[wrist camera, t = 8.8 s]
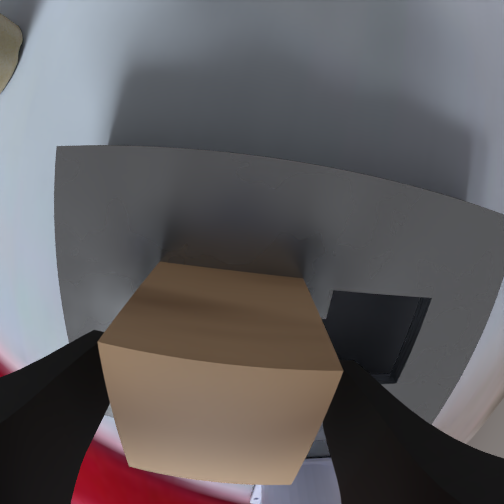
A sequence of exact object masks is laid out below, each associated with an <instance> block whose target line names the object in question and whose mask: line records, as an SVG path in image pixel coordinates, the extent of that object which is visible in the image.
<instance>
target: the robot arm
mask: <svg viewBox="0 0 504 504" xmlns="http://www.w3.org/2000/svg"><path fill="white" fill-rule="evenodd" d="M103 333H104V332H102V331H98V330H93V331H91V332H89V333H87V334H85V335H83V336H81V337H79V338H78V339H76V340H74V341H72V342H71V343H69V344H67V345H65V346H64V347H62V348H60V349H58V350H56V351H55V352H53V353H51V354H49V355H48V356H46V357H44V358H42V359H40V360H38V361H36V362H34V363H32V364H30V365H28V366H26V367H24V368H22V369H20V370H17V371H15V372H13V373H10V374H8V375H5V376H3V377H0V504H71V499H72V495H73V491H74V487H75V483H76V480H77V476H78V473H79V470H80V466H81V463H82V461H83V458H84V456H85V454H86V451H87V449H88V447H89V445H90V443H91V441H92V439H93V437H94V435H95V433H96V431H97V429H98V427H99V425H100V423H101V421H102V419H103V417H104V415H105V413H106V411H107V409H108V407H109V404H110V401H109V397H108V393H107V388H106V384H105V379H104V374H103V369H102V364H101V359H100V354H99V348H98V340H99V339H100V338H101V336H102V335H103ZM339 361H340V364H341V366H342V369H343V373H342V376H341V379H340V381H339V384H338V386H337V389H336V391H335V394H334V396H333V399H332V401H331V403H330V406H329V408H328V411H327V413H326V415H325V417H324V420H323V430H324V434H325V437H326V441H327V445H328V448H329V452H330V456H331V458H315V459H305V460H304V462H303V464H302V466H301V468H300V470H299V471H298V473H297V475H296V477H295V479H294V481H293V483H292V484H291V485H255V487H254V490H253V492H252V495H251V498H250V503H253V504H504V458H501V457H497V456H494V455H491V454H488V453H485V452H483V451H480V450H478V449H475V448H473V447H471V446H469V445H466V444H464V443H462V442H460V441H458V440H456V439H454V438H452V437H451V436H449V435H447V434H445V433H444V432H442V431H440V430H439V429H437V428H436V427H434V426H432V425H431V424H429V423H428V422H426V421H425V420H424V419H422V418H421V417H420V416H418V415H417V414H416V413H414V412H413V411H412V410H410V409H409V408H408V407H407V406H405V405H404V404H403V403H402V402H400V401H399V400H398V399H397V398H396V397H395V396H393V395H392V394H391V393H390V392H389V391H388V390H387V389H386V388H384V387H383V386H382V385H381V384H380V383H379V382H378V381H377V380H376V379H375V378H373V377H372V376H371V375H370V374H369V373H368V372H367V371H366V370H365V369H364V368H362V367H361V366H360V365H359V364H358V363H357V362H355V361H354V360H339Z"/></svg>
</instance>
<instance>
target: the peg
mask: <svg viewBox="0 0 504 504" xmlns="http://www.w3.org/2000/svg"><path fill="white" fill-rule="evenodd" d="M98 348H99V354H100V359H101V364H102V369H103V374H104V379H105V384H106V388H107V393H108V397H109V401H110V405H111V409H112V413H113V416H114V420H115V423H116V427H117V430H118V434H119V437H120V440H121V443H122V447H123V450H124V453H125V456H126V459H127V461H128V464H129V466H130V467H134V468H138V469H142V470H146V471H151V472H155V473H160V474H165V475H171V476H176V477H182V478H188V479H195V480H203V481H211V482H221V483H233V484H251V485H291V484H292V483H293V481H294V479H295V477H296V475H297V473H298V471H299V470H300V468H301V466H302V464H303V462H304V460H305V458H306V456H307V454H308V452H309V450H310V448H311V446H312V444H313V441H314V439H315V437H316V435H317V433H318V431H319V429H320V426H321V424H322V422H323V420H324V417H325V415H326V413H327V411H328V408H329V406H330V403H331V401H332V399H333V396H334V394H335V391H336V389H337V386H338V384H339V381H340V379H341V376H342V373H343V369H342V366H341V364H340V361H339V359H338V357H337V354H336V352H335V350H334V347H333V345H332V342H331V340H330V338H329V336H328V333H327V331H326V329H325V326H324V324H323V322H322V319H321V317H320V315H319V313H318V310H317V308H316V306H315V304H314V301H313V299H312V297H311V295H310V292H309V290H308V288H307V286H306V283H305V281H304V279H303V278H294V277H285V276H276V275H267V274H258V273H249V272H240V271H232V270H223V269H215V268H207V267H199V266H191V265H183V264H175V263H167V262H159V263H158V264H157V265H156V267H155V268H154V269H153V270H152V271H151V273H150V274H149V275H148V276H147V278H146V279H145V280H144V281H143V283H142V284H141V285H140V286H139V288H138V289H137V290H136V291H135V293H134V294H133V295H132V297H131V298H130V299H129V300H128V302H127V303H126V304H125V306H124V307H123V308H122V310H121V311H120V312H119V313H118V315H117V316H116V317H115V319H114V320H113V321H112V323H111V324H110V325H109V327H108V328H107V329H106V331H105V332H104V333H103V335H102V336H101V338H100V339H99V340H98Z"/></svg>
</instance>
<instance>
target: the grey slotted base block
mask: <svg viewBox="0 0 504 504" xmlns="http://www.w3.org/2000/svg"><path fill="white" fill-rule="evenodd" d="M54 220H55V243H56V257H57V268H58V278H59V286H60V293H61V300H62V307H63V313H64V319H65V324H66V330H67V335H68V339H69V343H71V342H72V341H74V340H76V339H78V338H79V337H81V336H83V335H85V334H87V333H89V332H91V331H93V330H98V331H102V332H105V331H106V329H107V328H108V327H109V325H110V324H111V323H112V321H113V320H114V319H115V317H116V316H117V315H118V313H119V312H120V311H121V310H122V308H123V307H124V306H125V304H126V303H127V302H128V300H129V299H130V298H131V297H132V295H133V294H134V293H135V291H136V290H137V289H138V288H139V286H140V285H141V284H142V283H143V281H144V280H145V279H146V278H147V276H148V275H149V274H150V273H151V271H152V270H153V269H154V268H155V267H156V265H157V264H158V263H159V262H167V263H175V264H183V265H191V266H199V267H207V268H215V269H223V270H232V271H240V272H249V273H258V274H267V275H276V276H285V277H294V278H303V279H304V281H305V283H306V286H307V288H308V290H309V292H310V295H311V297H312V299H313V301H314V304H315V306H316V308H317V310H318V313H319V315H320V317H321V319H326V317H327V314H328V310H329V306H330V302H331V298H332V294H333V290H337V291H348V292H360V293H372V294H384V295H397V296H411V297H421V298H420V301H419V304H418V307H417V309H416V312H415V315H414V318H413V321H412V323H411V326H410V329H409V331H408V334H407V336H406V339H405V341H404V344H403V346H402V349H401V351H400V353H399V356H398V358H397V360H396V363H395V365H394V367H393V369H392V371H391V373H390V374H370V375H371V376H372V377H373V378H375V379H376V380H377V381H378V382H379V383H380V384H381V385H382V386H383V387H384V388H386V389H387V390H388V391H389V392H390V393H391V394H392V395H393V396H395V397H396V398H397V399H398V400H399V401H400V402H402V403H403V404H404V405H405V406H407V407H408V408H409V409H410V410H412V411H413V412H414V413H416V414H417V415H418V416H420V417H421V418H422V419H424V420H425V421H426V422H428V423H429V424H432V423H433V421H434V420H435V418H436V417H437V415H438V414H439V412H440V411H441V409H442V408H443V406H444V404H445V403H446V401H447V400H448V398H449V396H450V395H451V393H452V391H453V390H454V388H455V386H456V384H457V383H458V381H459V379H460V377H461V375H462V374H463V372H464V370H465V368H466V366H467V364H468V362H469V360H470V358H471V356H472V354H473V352H474V350H475V348H476V346H477V344H478V341H479V339H480V337H481V335H482V333H483V330H484V328H485V326H486V323H487V321H488V318H489V316H490V313H491V311H492V308H493V306H494V303H495V300H496V298H497V295H498V292H499V289H500V286H501V283H502V280H503V277H504V215H503V214H501V213H498V212H495V211H492V210H489V209H487V208H484V207H481V206H478V205H475V204H472V203H469V202H466V201H463V200H459V199H456V198H453V197H450V196H446V195H443V194H440V193H436V192H433V191H429V190H426V189H422V188H418V187H415V186H411V185H407V184H403V183H399V182H395V181H391V180H387V179H383V178H378V177H374V176H370V175H365V174H361V173H356V172H351V171H346V170H341V169H336V168H331V167H326V166H320V165H315V164H309V163H303V162H297V161H291V160H284V159H277V158H271V157H263V156H256V155H248V154H239V153H230V152H221V151H210V150H199V149H186V148H171V147H152V146H118V145H86V146H57V150H56V163H55V186H54ZM105 415H107V416H110V417H114V416H113V413H112V409H111V405H110V404H109V407H108V409H107V411H106V413H105ZM320 440H326V437H325V434H324V430H323V422H322V424H321V426H320V429H319V431H318V433H317V435H316V437H315V439H314V441H320Z"/></svg>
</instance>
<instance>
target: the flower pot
mask: <svg viewBox="0 0 504 504" xmlns="http://www.w3.org/2000/svg"><path fill="white" fill-rule="evenodd" d="M22 41H23V38H22V32H21V30H20V28H19V27H18V26H17V25H16V24H14V23H13V22H12V21H10V20H9V19H8V18H6V17H5V16H4V15H2V14H1V13H0V93H1V92H2V91H3V89H4V88H5V86H6V85H7V83H8V81H9V80H10V78H11V76H12V74H13V72H14V70H15V68H16V65H17V63H18V53H19V48H20V46H21V44H22Z"/></svg>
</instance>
